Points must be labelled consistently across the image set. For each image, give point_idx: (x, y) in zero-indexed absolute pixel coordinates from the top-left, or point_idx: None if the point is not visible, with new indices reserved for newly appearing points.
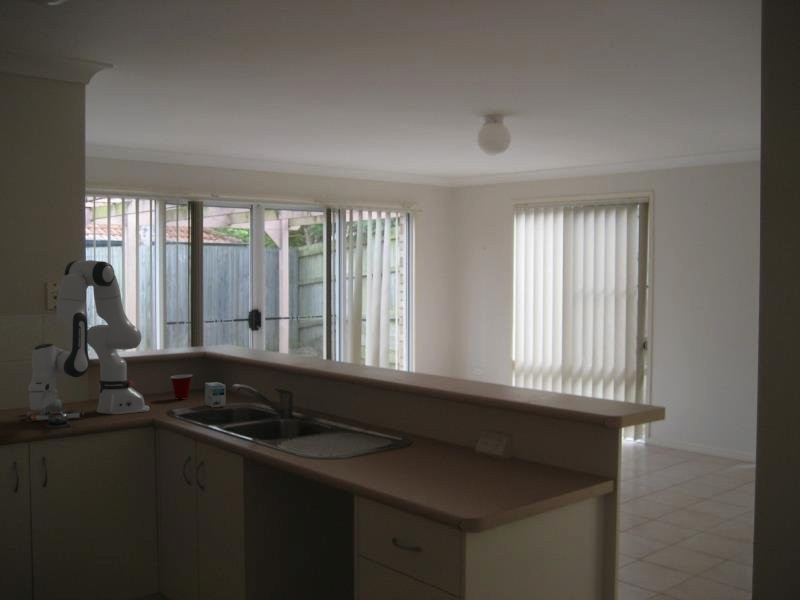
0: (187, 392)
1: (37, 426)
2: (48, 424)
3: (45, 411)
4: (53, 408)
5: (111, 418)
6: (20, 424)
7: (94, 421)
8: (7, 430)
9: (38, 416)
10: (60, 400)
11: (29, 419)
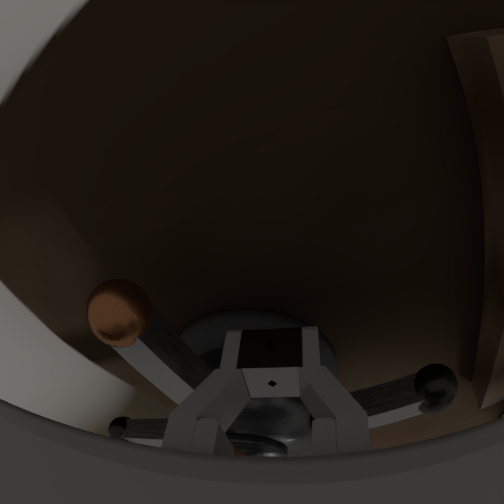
0: None
1: (229, 244)
2: (217, 343)
3: (310, 402)
4: None
5: (437, 436)
6: (322, 8)
7: (390, 428)
8: (18, 85)
9: (131, 362)
10: None
11: (474, 73)
